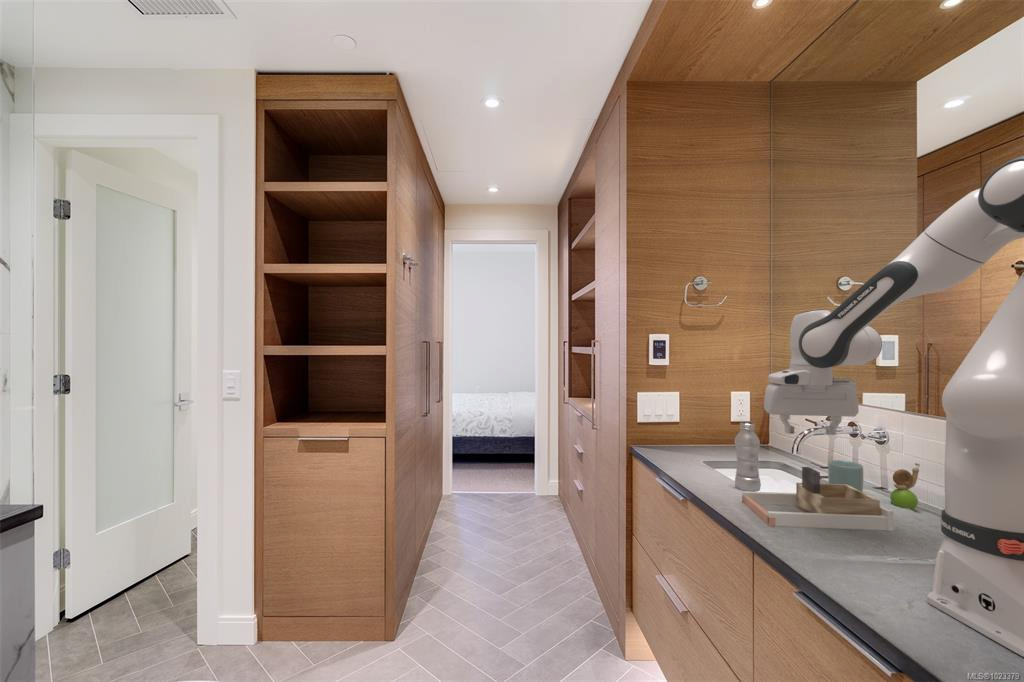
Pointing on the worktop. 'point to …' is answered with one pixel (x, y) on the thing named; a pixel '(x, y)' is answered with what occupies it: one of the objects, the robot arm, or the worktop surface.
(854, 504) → the drawer
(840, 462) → the cup
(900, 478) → the snail figurine
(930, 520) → the worktop surface
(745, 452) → the plastic bottle
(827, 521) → the white tray
